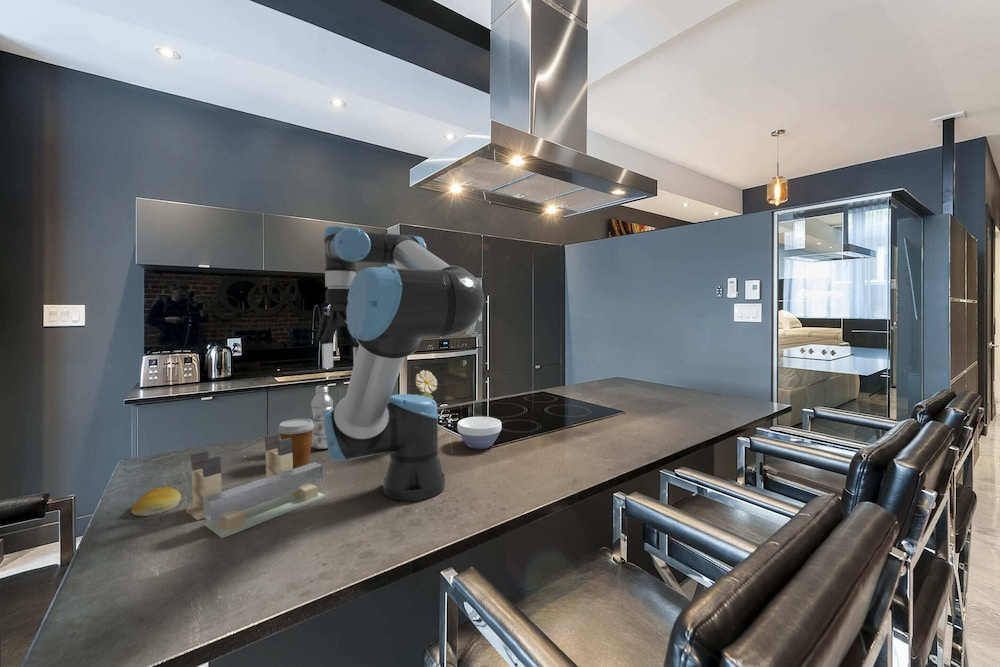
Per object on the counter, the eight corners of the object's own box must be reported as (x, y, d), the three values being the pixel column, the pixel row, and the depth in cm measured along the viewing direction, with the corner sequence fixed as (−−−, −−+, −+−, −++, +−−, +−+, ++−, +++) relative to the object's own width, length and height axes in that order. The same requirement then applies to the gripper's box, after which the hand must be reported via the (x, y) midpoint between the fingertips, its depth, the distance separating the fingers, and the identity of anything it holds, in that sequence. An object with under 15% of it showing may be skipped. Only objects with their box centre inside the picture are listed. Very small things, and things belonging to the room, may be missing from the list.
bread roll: (125, 520, 90) (124, 502, 90) (144, 502, 99) (143, 486, 98) (172, 514, 93) (171, 496, 93) (186, 497, 101) (185, 480, 101)
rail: (323, 481, 103) (322, 465, 103) (210, 522, 83) (210, 502, 83) (315, 477, 105) (314, 462, 105) (203, 517, 85) (202, 497, 85)
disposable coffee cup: (301, 470, 117) (300, 428, 116) (271, 468, 119) (269, 426, 118) (322, 458, 126) (321, 419, 126) (294, 456, 128) (292, 417, 128)
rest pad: (325, 497, 101) (324, 485, 101) (222, 538, 83) (221, 523, 83) (306, 488, 106) (306, 477, 105) (205, 526, 88) (204, 511, 87)
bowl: (476, 435, 150) (476, 414, 149) (510, 443, 141) (510, 420, 141) (448, 446, 138) (447, 423, 137) (483, 455, 129) (483, 431, 129)
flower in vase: (400, 456, 129) (399, 374, 127) (394, 444, 139) (393, 369, 138) (442, 450, 134) (441, 371, 133) (432, 439, 145) (432, 367, 143)
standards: (299, 485, 107) (297, 437, 107) (198, 521, 90) (196, 463, 89) (284, 478, 112) (282, 432, 111) (185, 511, 94) (182, 456, 93)
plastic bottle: (339, 447, 137) (337, 385, 136) (320, 453, 131) (318, 389, 130) (326, 443, 141) (325, 383, 139) (307, 449, 135) (306, 387, 134)
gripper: (384, 287, 106) (385, 372, 107) (326, 290, 120) (328, 364, 121) (359, 286, 99) (360, 376, 101) (301, 289, 114) (303, 367, 115)
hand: (343, 370), depth 111 cm, fingers open, 13 cm apart
